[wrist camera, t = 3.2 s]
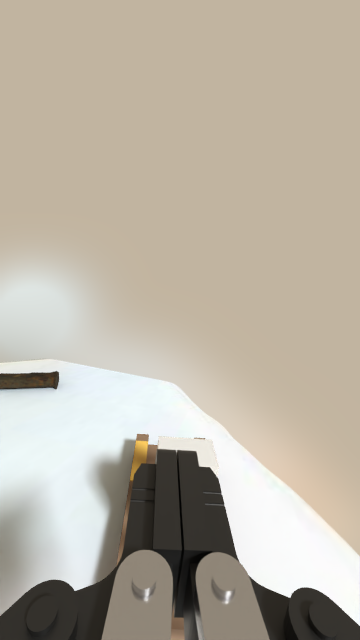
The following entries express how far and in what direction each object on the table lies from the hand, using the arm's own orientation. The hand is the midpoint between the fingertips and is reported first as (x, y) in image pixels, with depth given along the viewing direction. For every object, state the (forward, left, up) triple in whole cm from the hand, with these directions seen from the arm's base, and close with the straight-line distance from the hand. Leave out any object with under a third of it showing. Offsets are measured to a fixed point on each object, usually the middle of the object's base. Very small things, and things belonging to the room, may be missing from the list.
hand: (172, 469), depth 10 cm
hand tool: (-60, +7, -27) cm, 67 cm away
